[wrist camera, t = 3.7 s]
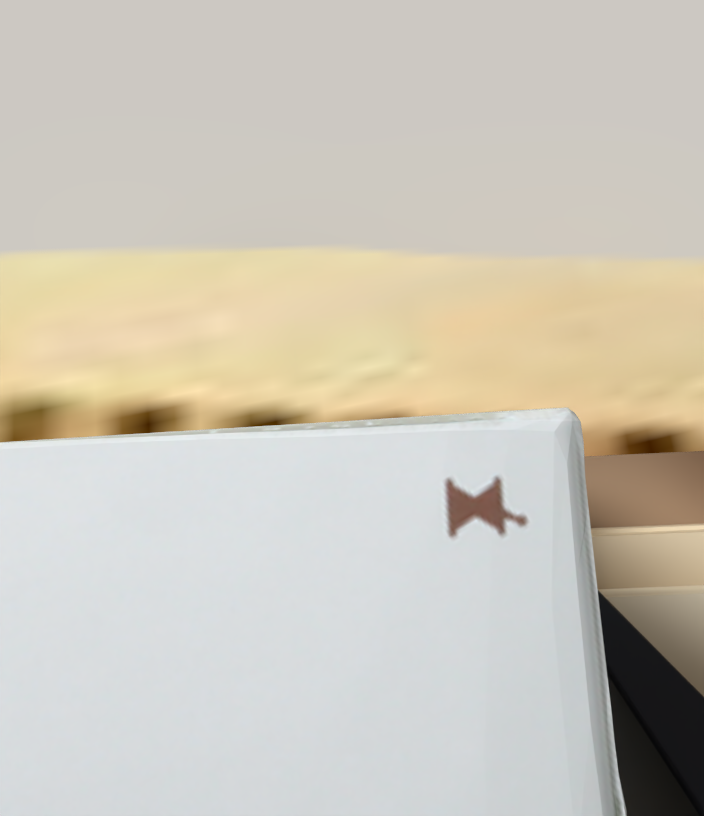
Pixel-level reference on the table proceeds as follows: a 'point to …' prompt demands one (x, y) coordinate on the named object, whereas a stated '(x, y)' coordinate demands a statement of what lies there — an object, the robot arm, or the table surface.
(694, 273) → the table surface
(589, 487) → the tray
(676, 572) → the offcut stack
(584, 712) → the supplement box
